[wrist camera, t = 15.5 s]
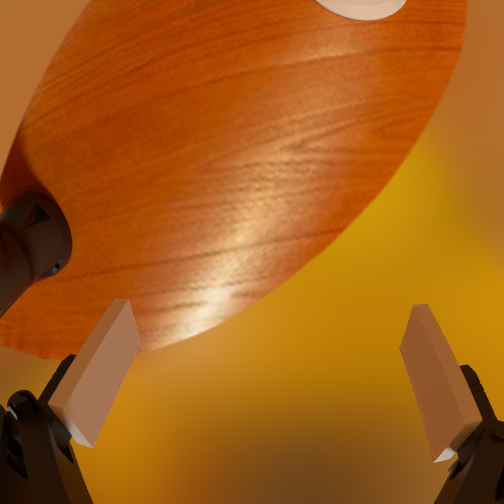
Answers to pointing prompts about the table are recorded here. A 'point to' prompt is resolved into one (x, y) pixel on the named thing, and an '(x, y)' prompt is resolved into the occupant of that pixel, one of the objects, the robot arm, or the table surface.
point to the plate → (362, 8)
